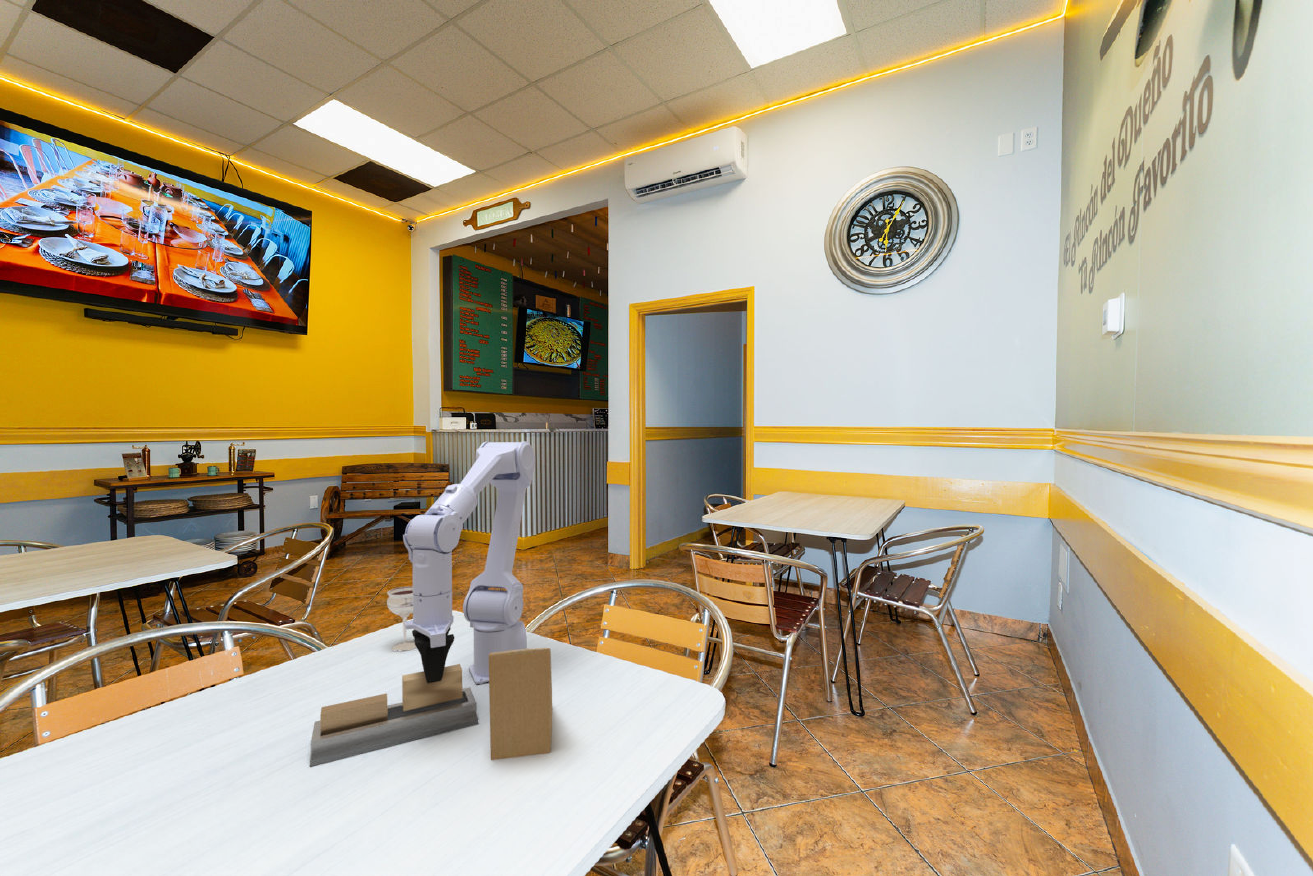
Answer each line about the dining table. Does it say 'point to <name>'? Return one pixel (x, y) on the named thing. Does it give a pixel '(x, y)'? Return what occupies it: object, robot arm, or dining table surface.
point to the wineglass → (402, 610)
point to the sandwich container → (520, 702)
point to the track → (384, 725)
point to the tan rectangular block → (431, 688)
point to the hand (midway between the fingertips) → (433, 677)
